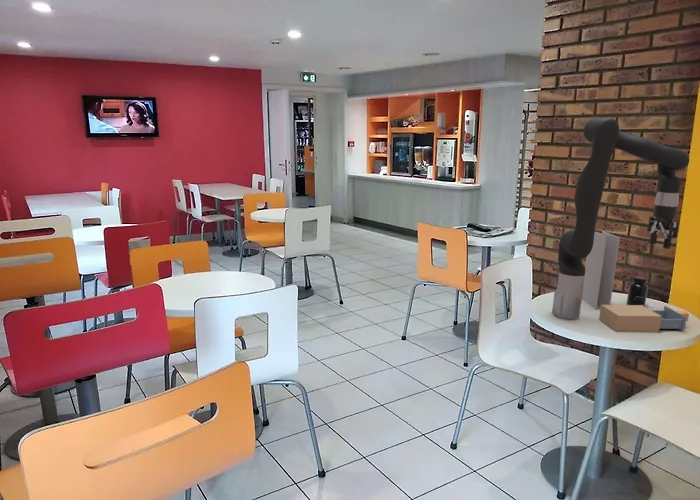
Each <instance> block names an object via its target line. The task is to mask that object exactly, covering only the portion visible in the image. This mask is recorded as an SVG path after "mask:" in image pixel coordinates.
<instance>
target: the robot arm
mask: <svg viewBox="0 0 700 500" xmlns="http://www.w3.org/2000/svg"><path fill="white" fill-rule="evenodd" d="M582 132H583V136H584V138H585V139H586V141H587V142H589V143H591V144H592V150H591V155H590V157H589V160H588V162H587V164H585V166H584V168H583V169H582V170H581V173H580V174H579V176H578V179H577V182H576V187H575V191H574V208H575V215H576V221H575V226H574V230H569V231H566V232H565V233H563V235H562V236H561V237H560V240H559V246H558V258H557V263H558V275H557V276H558V277H557V286H556V289H554V292H553V301H552V309H551V313H552V314H553V315H555V317H557V318H559V319H565V320H577V319H580V314H581V309H582V308H581V307H582V300H583V299H582V293H583V285H584V278H585V266H586V265H584V263H583V259H584V258H587V256H588V255H589V254H590V252H591V250H592V247H593V242H594V234H595V232H596V224H597V219H598V214H599V210H600V205H601V202H602V197H603V194H604V189H605V184H606V179H607V177H608V176H607V175H608V171H609V167H610V163H611V158H612V156H613V154H614V153H613V152H614V150H615V149H617V150H620V151H623V152H624V153H627V154H628V155H629V154H630V155H631V156H635V157H637V158H639V159H642V160H644V161H646V162H650V163H655V164H657V174H658V187H657V192H656V195H655V198H654V199H655V200H654V204H653V205H654V207H653V212H652V216H649V221H648V225H647V229H646V230H647V232H649V234H650V237H649V244H651V245H653V244H654V245H655V244H657V239H658V234H659V232H661V233H662V234H663V236H664V240H663V246H662V248H663V249H671V244H672V240H673V239H677V237H678V230H679V222H678V221H673V219H674V218H676V217H677V212H678V208H679V207H678V206H679V202H680V201H679V200H680V196H679V195H680V189H681V184H682V183H681V182H682V180H681V178H680V177H679V176H677V175H676V171H681V170H684V169H686V168H687V167H688V166H689V163H690V157H689V155H688V154H687V152H685V151H683V150H681V149H677V148H674V147H670V146H666V145H663V144H661V143H659V142H658V141H657V142H656V141H654V140H651V139H648V138H645V137H644V136H643V137H642V136H638V135H633V134H630V133H627V132H624V131H621V130H620V126H619V122H618V121H617V120H616V119H614V118H612V117H599V118H593V119H590V120H589V121H588V122H587V123H586V124H585V125H584V128H583V131H582Z"/></svg>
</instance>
